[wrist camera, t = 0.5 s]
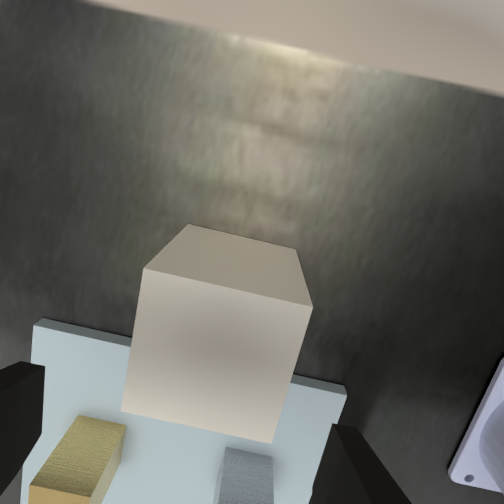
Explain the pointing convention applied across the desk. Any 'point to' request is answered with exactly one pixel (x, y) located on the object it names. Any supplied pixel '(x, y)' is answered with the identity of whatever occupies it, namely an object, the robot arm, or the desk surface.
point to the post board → (168, 425)
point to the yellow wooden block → (80, 464)
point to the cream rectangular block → (217, 333)
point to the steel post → (244, 478)
